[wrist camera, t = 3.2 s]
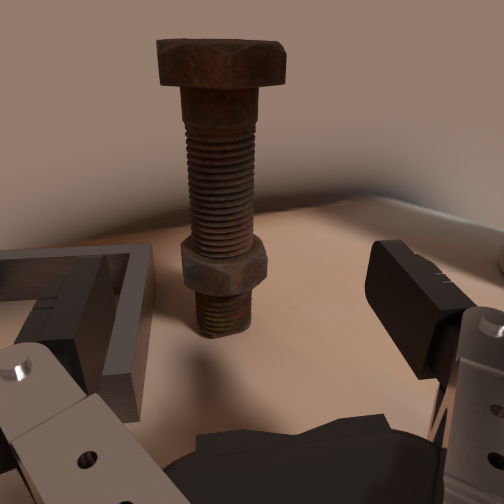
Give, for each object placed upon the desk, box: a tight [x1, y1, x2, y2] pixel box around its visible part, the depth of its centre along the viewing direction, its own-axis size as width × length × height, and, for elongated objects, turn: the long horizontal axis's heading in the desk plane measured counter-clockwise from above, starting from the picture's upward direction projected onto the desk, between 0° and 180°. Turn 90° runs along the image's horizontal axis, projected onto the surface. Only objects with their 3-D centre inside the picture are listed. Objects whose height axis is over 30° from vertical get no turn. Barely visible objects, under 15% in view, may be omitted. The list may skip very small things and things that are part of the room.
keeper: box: [0, 243, 156, 423], centre depth 22 cm, size 11×11×3 cm
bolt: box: [156, 38, 287, 338], centre depth 20 cm, size 6×5×15 cm
